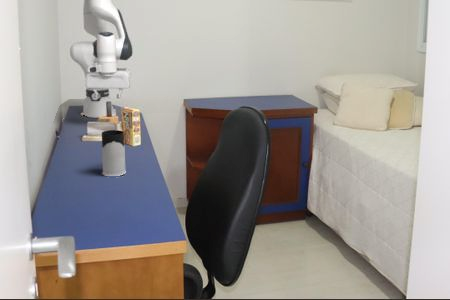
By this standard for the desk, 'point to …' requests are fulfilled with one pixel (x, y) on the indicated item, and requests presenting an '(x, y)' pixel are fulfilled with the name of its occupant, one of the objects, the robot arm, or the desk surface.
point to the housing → (104, 120)
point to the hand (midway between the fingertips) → (108, 98)
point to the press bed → (99, 130)
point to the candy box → (131, 126)
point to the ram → (110, 114)
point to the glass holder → (113, 153)
